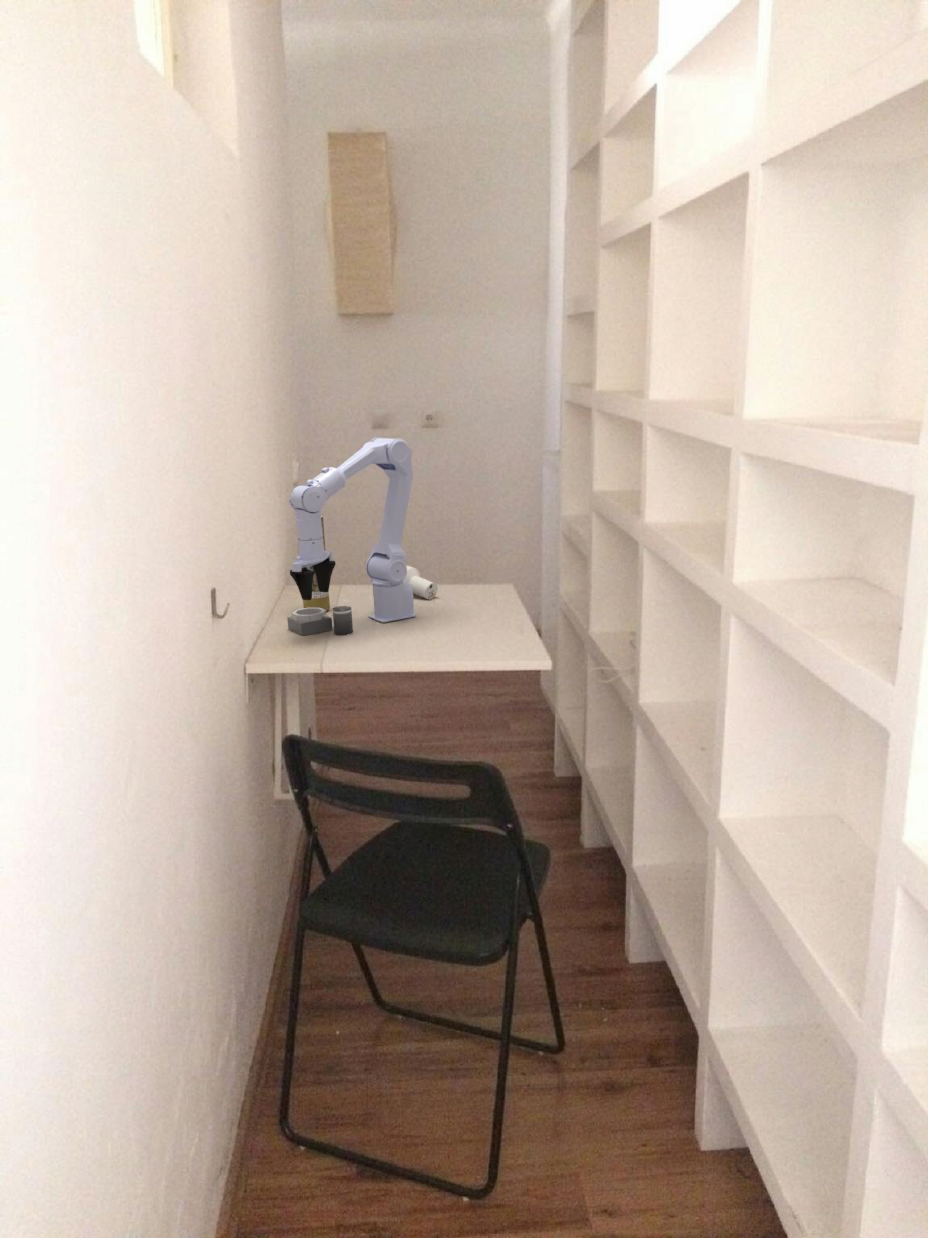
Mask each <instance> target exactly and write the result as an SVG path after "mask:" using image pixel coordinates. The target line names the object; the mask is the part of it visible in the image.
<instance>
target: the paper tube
mask: <svg viewBox="0 0 928 1238" xmlns="http://www.w3.org/2000/svg"><path fill="white" fill-rule="evenodd" d="M321 523H322V534H323V545H324V551H327V549H326V539H325V527H324V516H323V514H322V513H321ZM295 526H296V527H297V525H295ZM297 539H298V536H297ZM297 546H298V545H297ZM297 549H298V550H299V546H298V548H297ZM307 570H308V571H314V568H313V566H310V567H308V568H307ZM302 603H303V605H302V606H303V608H322V609H325V610H326V612H329V611H330V610H331V604H330V603H331V602H330V590H329V591H328V592H320V591H319V588H318V583H317V577H316V574H315V573H314V576H313V581H312V599H311V600H303V599H302Z"/></svg>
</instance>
